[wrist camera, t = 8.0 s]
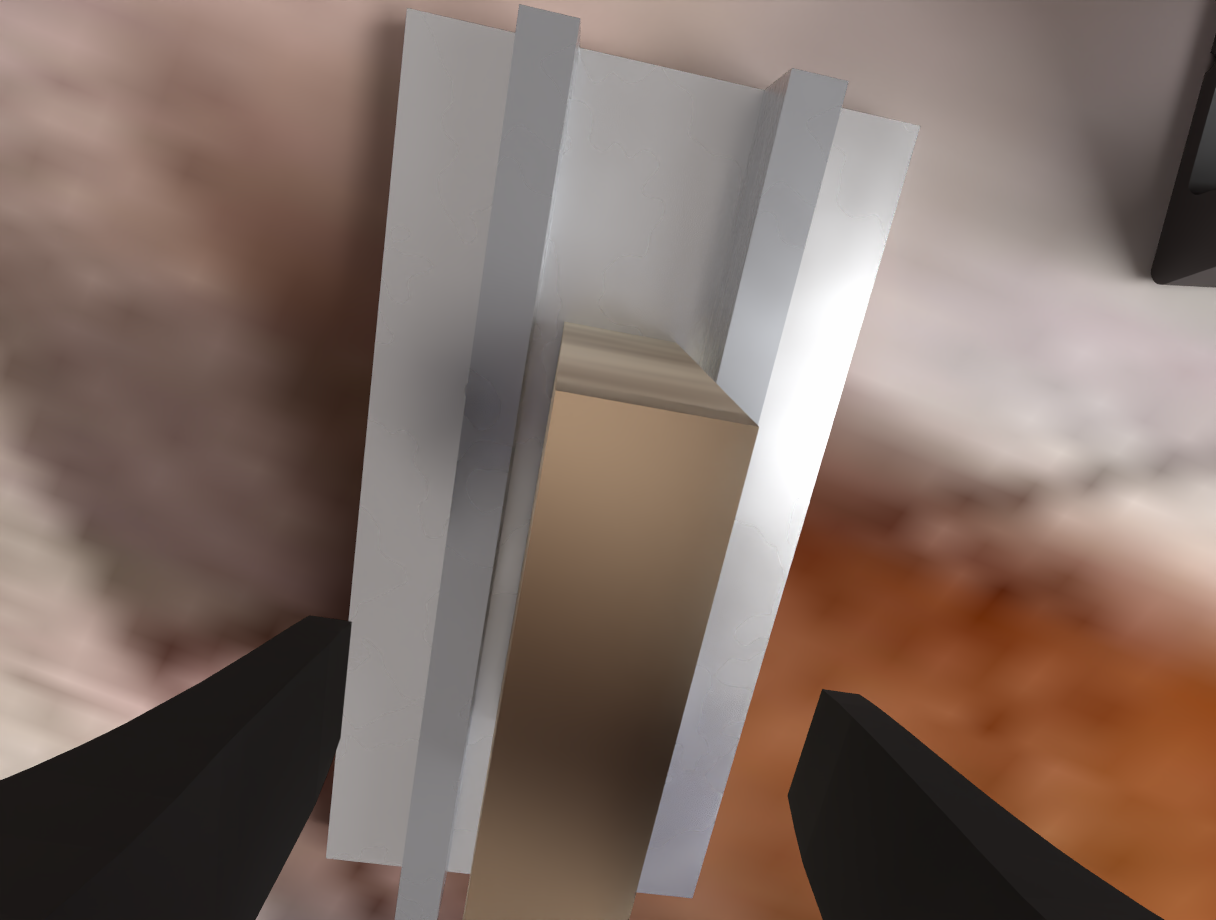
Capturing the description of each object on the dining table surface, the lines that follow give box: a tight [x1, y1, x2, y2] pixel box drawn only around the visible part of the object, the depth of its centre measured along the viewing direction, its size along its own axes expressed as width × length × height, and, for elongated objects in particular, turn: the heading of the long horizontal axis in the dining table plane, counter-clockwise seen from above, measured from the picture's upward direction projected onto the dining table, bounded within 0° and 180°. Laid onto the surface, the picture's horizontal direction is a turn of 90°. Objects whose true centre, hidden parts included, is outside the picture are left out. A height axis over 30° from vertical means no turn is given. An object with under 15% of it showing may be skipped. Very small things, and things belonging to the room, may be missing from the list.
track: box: [326, 4, 920, 920], centre depth 16 cm, size 20×10×3 cm, turn 169°
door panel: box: [463, 322, 759, 920], centre depth 13 cm, size 10×2×7 cm, turn 169°
